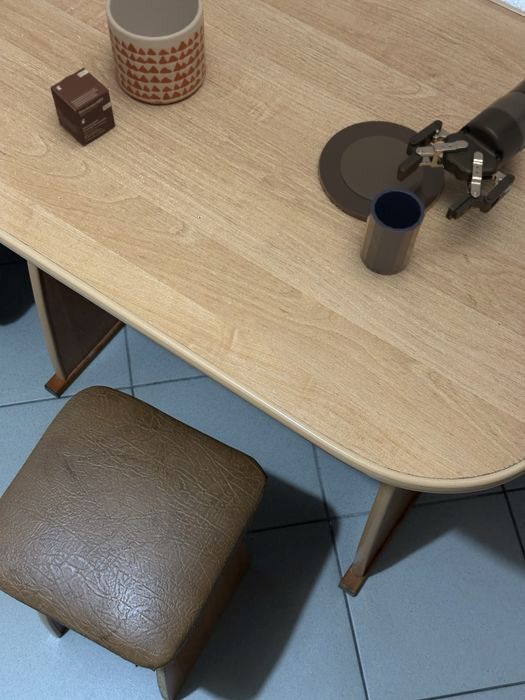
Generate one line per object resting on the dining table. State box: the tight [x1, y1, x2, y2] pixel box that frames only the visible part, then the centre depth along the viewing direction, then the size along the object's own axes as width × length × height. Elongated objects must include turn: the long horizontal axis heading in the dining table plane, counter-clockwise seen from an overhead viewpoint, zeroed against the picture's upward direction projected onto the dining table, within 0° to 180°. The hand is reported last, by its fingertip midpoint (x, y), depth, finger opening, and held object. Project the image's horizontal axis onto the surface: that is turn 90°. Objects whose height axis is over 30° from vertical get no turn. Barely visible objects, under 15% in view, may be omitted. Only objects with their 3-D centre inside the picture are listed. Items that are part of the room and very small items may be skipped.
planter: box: [104, 0, 207, 105], centre depth 123 cm, size 14×14×13 cm
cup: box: [359, 188, 426, 276], centre depth 110 cm, size 7×7×10 cm
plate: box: [318, 120, 445, 223], centre depth 120 cm, size 18×18×1 cm
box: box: [50, 67, 116, 146], centre depth 120 cm, size 6×6×7 cm
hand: (423, 195), depth 109 cm, fingers open, 8 cm apart
